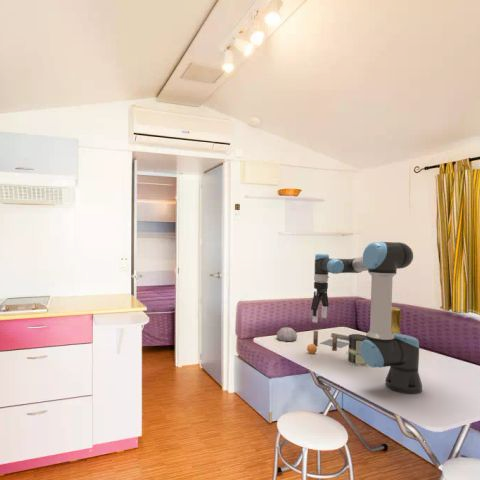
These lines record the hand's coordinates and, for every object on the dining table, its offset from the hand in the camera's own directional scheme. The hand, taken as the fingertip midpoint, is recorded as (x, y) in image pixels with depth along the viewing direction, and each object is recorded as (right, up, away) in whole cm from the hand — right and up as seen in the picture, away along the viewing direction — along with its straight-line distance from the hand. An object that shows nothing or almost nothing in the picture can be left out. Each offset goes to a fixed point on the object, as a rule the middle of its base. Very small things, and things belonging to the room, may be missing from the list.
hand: (319, 320), depth 214 cm
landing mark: (+16, -21, +29) cm, 39 cm away
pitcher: (+47, -22, +25) cm, 57 cm away
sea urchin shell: (-14, -20, +36) cm, 43 cm away
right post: (+12, -21, +15) cm, 28 cm away
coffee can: (+19, -21, -8) cm, 30 cm away
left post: (+2, -21, +23) cm, 31 cm away
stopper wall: (+25, -21, +40) cm, 52 cm away
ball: (-3, -18, +6) cm, 19 cm away
